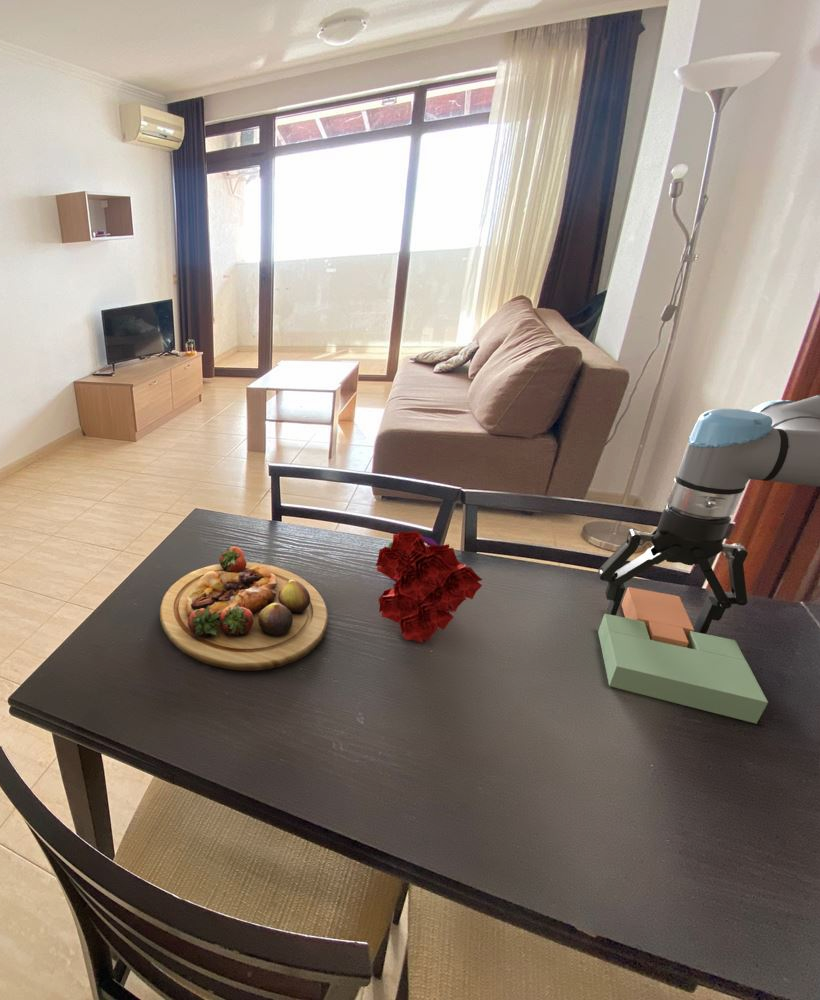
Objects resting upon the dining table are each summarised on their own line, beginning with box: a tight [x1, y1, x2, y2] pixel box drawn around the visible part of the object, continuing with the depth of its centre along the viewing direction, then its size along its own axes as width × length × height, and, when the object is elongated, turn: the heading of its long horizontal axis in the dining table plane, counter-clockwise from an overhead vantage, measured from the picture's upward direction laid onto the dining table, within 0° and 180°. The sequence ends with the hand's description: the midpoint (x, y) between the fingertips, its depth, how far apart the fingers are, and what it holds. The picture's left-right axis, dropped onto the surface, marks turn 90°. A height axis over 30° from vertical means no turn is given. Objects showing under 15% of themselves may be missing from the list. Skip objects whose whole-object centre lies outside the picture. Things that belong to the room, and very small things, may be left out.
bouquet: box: [375, 530, 483, 643], centre depth 104 cm, size 20×16×30 cm
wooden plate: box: [159, 546, 329, 671], centre depth 103 cm, size 32×32×8 cm
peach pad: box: [621, 586, 695, 648], centre depth 90 cm, size 7×14×4 cm, turn 149°
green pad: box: [597, 613, 769, 725], centre depth 82 cm, size 16×14×4 cm
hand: (653, 623), depth 93 cm, fingers open, 11 cm apart
